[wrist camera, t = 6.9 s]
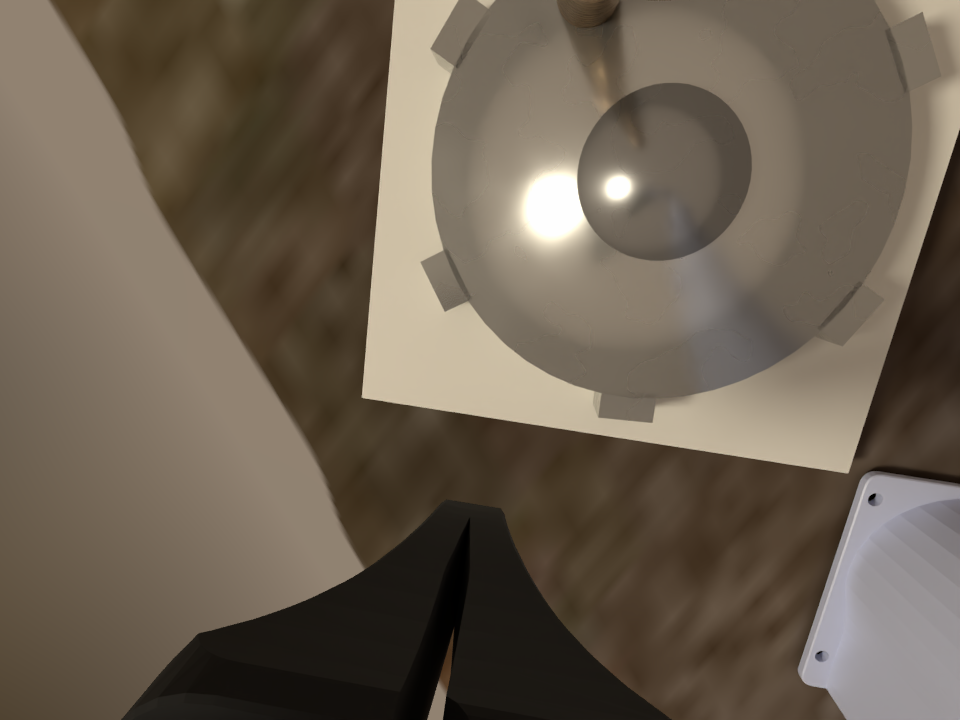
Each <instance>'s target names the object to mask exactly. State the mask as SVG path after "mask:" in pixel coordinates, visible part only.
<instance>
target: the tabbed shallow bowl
mask: <svg viewBox="0 0 960 720" xmlns="http://www.w3.org/2000/svg"><path fill="white" fill-rule="evenodd" d="M430 49H431V51H432V53H433V55H434V57H435V59H436V61H437V63H438V65H440V66H441V67H442V68H444V69H445V70H447V71H448V72H449V73H451V76H450V78H449V81H448V84H447V87H446V89H445V92H444V95H443V97H442V101H441V106H440V110H439V114H438V118H437V123H436V127H435V133H434V142H433V151H432V160H431V166H432V197H433V204H434V211H435V219H436V224H437V228H438V231H439V235H440V239H441V243H442V246H443V251H441V252H439V253H437V254H435V255H433V256H431V257H429V258H427V259H425V260H423V261H421V262H420V263H421V265H422V267H423V269H424V271H425V273H426V275H427V277H428V279H429V281H430V283H431V285H432V287H433V289H434V291H435V293H436V295H437V297H438V299H439V301H440V303H441V305H442V307H443V309H444V312H446V311H448V310H450V309H452V308H454V307H456V306H458V305H460V304H463V303H465V302H467V301H468V302H469V303H470V304H471V306H472V307H473V308H474V310H475V311H476V312H477V314H478V315H479V316H480V318H481V319H482V320H483V322H484V323H485V324H486V325H487V326H488V327H489V328H490V329H491V330H492V331H493V332H494V333H495V334H496V336H497V337H498V338H499V339H500V340H501V341H502V342H503V343H504V344H506V345H507V346H508V347H509V348H511V349H512V350H513V351H514V352H516V353H517V354H518V355H519V356H521V357H522V358H523V359H525V360H526V361H527V362H529V363H531V364H532V365H534V366H536V367H537V368H539V369H541V370H542V371H544V372H546V373H547V374H549V375H551V376H554V377H556V378H558V379H561V380H563V381H565V382H567V383H570V384H572V385H574V386H578V387H581V388H585V389H588V390H591V391H595V392H594V399H593V406H594V408H595V411H596V413H597V416H598V418H606V419H616V420H626V421H637V422H647V423H653V417H654V410H655V404H656V399H659V398H670V397H681V396H688V395H693V394H698V393H703V392H707V391H712V390H716V389H719V388H722V387H725V386H728V385H731V384H734V383H737V382H739V381H742V380H745V379H747V378H749V377H751V376H753V375H755V374H757V373H759V372H761V371H763V370H766V369H768V368H770V367H771V366H773V365H775V364H776V363H778V362H779V361H781V360H783V359H784V358H786V357H787V356H789V355H791V354H792V353H794V352H795V351H797V350H798V349H799V348H801V347H802V346H803V345H804V344H806V343H807V342H808V341H809V340H811V339H812V338H813V337H814V336H816V337H817V338H819V339H822V340H825V341H828V342H831V343H834V344H836V345H839V346H842V347H843V346H844V344H845V343H846V342H847V341H848V340H849V339H850V338H851V337H852V336H853V334H854V333H855V332H856V331H857V330H858V329H859V328H860V327H861V326H862V324H863V323H864V322H865V321H866V320H867V319H868V318H869V317H870V316H871V315H872V313H873V312H874V311H875V310H876V309H877V308H878V307H879V306H880V305H881V303H882V302H883V301H884V300H885V299H884V298H882V297H881V296H879V295H878V294H877V293H875V292H874V291H873V290H871V289H870V288H869V287H867V286H866V285H864V284H863V283H864V281H865V280H866V278H867V276H868V275H869V273H870V271H871V270H872V268H873V267H874V265H875V263H876V262H877V260H878V258H879V257H880V255H881V253H882V251H883V249H884V246H885V244H886V242H887V240H888V238H889V235H890V233H891V231H892V229H893V227H894V224H895V221H896V218H897V215H898V212H899V209H900V206H901V202H902V199H903V196H904V193H905V188H906V182H907V177H908V171H909V166H910V160H911V143H912V115H911V103H910V92H909V91H911V90H913V89H916V88H918V87H920V86H922V85H924V84H926V83H928V82H930V81H932V80H934V79H937V78H939V77H941V73H940V69H939V66H938V62H937V59H936V56H935V52H934V49H933V45H932V42H931V39H930V35H929V32H928V28H927V25H926V22H925V18H924V15H923V12H921V13H919V14H917V15H915V16H913V17H911V18H909V19H907V20H905V21H903V22H901V23H899V24H897V25H895V26H893V27H891V28H890V27H889V25H888V23H887V22H886V20H885V18H884V16H883V15H882V13H881V11H880V9H879V8H878V6H877V4H876V2H875V1H874V0H495V1H494V3H493V4H492V5H491V6H490V7H489V8H487V7H485V6H484V5H483V4H481V3H480V2H478V1H477V0H458V2H457V3H456V5H455V7H454V9H453V10H452V12H451V14H450V16H449V17H448V19H447V21H446V22H445V24H444V26H443V28H442V29H441V31H440V33H439V35H438V36H437V38H436V40H435V41H434V43H433V45H432V47H431V48H430Z"/></svg>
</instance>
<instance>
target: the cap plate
mask: <svg viewBox="0 0 960 720" xmlns="http://www.w3.org/2000/svg"><path fill="white" fill-rule="evenodd" d="M477 1H478V2H480V3H481V4H483V5H484V6H485V7H487V8H489V7H490V6H491V5H492V4H493V3H494V1H495V0H477ZM874 1H875V2H876V4H877V6H878V8H879V9H880V11H881V13H882V15H883V16H884V18H885V20H886V22H887V23H888V25H889V27H890V28H891V27H893V26H895V25H897V24H899V23H901V22H903V21H905V20H907V19H909V18H911V17H913V16H915V15H917V14H919V13H921V12H923V15H924V18H925V22H926V25H927V28H928V32H929V35H930V39H931V42H932V45H933V49H934V52H935V56H936V59H937V62H938V66H939V69H940V73H941V77H939V78H937V79H934V80H932V81H930V82H928V83H926V84H924V85H922V86H920V87H918V88H916V89H913V90H911V91H909V92H910V103H911V115H912V143H911V160H910V166H909V171H908V177H907V182H906V188H905V193H904V196H903V199H902V202H901V206H900V209H899V212H898V215H897V218H896V221H895V224H894V227H893V229H892V231H891V233H890V235H889V238H888V240H887V242H886V244H885V246H884V249H883V251H882V253H881V255H880V257H879V258H878V260H877V262H876V263H875V265H874V267H873V268H872V270H871V271H870V273H869V275H868V276H867V278H866V280H865V281H864V283H863V284H864V285H866V286H867V287H869V288H870V289H871V290H873V291H874V292H875V293H877V294H878V295H879V296H881V297H882V298H884V299H885V300H884V301H883V302H882V303H881V305H880V306H879V307H878V308H877V309H876V310H875V311H874V312H873V313H872V315H871V316H870V317H869V318H868V319H867V320H866V321H865V322H864V323H863V324H862V326H861V327H860V328H859V329H858V330H857V331H856V332H855V333H854V334H853V336H852V337H851V338H850V339H849V340H848V341H847V342H846V343H845V344H844V346H843V347H842V346H839V345H836V344H834V343H831V342H828V341H825V340H822V339H819V338H817V337H816V336H814V337H813V338H812V339H811V340H809V341H808V342H807V343H806V344H804V345H803V346H802V347H801V348H799V349H798V350H797V351H795V352H794V353H792V354H791V355H789V356H787V357H786V358H784V359H783V360H781V361H779V362H778V363H776V364H775V365H773V366H771V367H770V368H768V369H766V370H763V371H761V372H759V373H757V374H755V375H753V376H751V377H749V378H747V379H745V380H742V381H739V382H737V383H734V384H731V385H728V386H725V387H722V388H719V389H716V390H712V391H707V392H703V393H698V394H693V395H688V396H681V397H670V398H659V399H656V404H655V410H654V417H653V423H647V422H637V421H626V420H616V419H606V418H598V416H597V413H596V411H595V408H594V406H593V399H594V392H595V391H591V390H588V389H585V388H581V387H578V386H574V385H572V384H570V383H567V382H565V381H563V380H561V379H558V378H556V377H554V376H551V375H549V374H547V373H546V372H544V371H542V370H541V369H539V368H537V367H536V366H534V365H532V364H531V363H529V362H527V361H526V360H525V359H523V358H522V357H521V356H519V355H518V354H517V353H516V352H514V351H513V350H512V349H511V348H509V347H508V346H507V345H506V344H504V343H503V342H502V341H501V340H500V339H499V338H498V337H497V336H496V334H495V333H494V332H493V331H492V330H491V329H490V328H489V327H488V326H487V325H486V324H485V323H484V322H483V320H482V319H481V318H480V316H479V315H478V314H477V312H476V311H475V310H474V308H473V307H472V306H471V304H470V303H469V302H468V301H467V302H465V303H463V304H460V305H458V306H456V307H454V308H452V309H450V310H448V311H446V312H444V309H443V307H442V305H441V303H440V301H439V299H438V297H437V295H436V293H435V291H434V289H433V287H432V285H431V283H430V281H429V279H428V277H427V275H426V273H425V271H424V269H423V267H422V265H421V263H420V262H421V261H423V260H425V259H427V258H429V257H431V256H433V255H435V254H437V253H439V252H441V251H443V246H442V243H441V239H440V235H439V231H438V228H437V224H436V219H435V211H434V204H433V197H432V166H431V160H432V151H433V142H434V133H435V127H436V123H437V118H438V114H439V110H440V106H441V101H442V97H443V95H444V92H445V89H446V87H447V84H448V81H449V78H450V76H451V73H449V72H448V71H447V70H445V69H444V68H442V67H441V66H440V65H438V63H437V61H436V59H435V57H434V55H433V53H432V51H431V49H430V48H431V47H432V45H433V43H434V41H435V40H436V38H437V36H438V35H439V33H440V31H441V29H442V28H443V26H444V24H445V22H446V21H447V19H448V17H449V16H450V14H451V12H452V10H453V9H454V7H455V5H456V3H457V2H458V0H395V6H394V18H393V30H392V42H391V54H390V66H389V78H388V90H387V102H386V114H385V126H384V138H383V150H382V163H381V175H380V187H379V199H378V211H377V223H376V235H375V247H374V259H373V271H372V283H371V295H370V307H369V319H368V331H367V343H366V355H365V367H364V379H363V391H362V398H367V399H373V400H380V401H386V402H392V403H399V404H405V405H412V406H418V407H425V408H431V409H437V410H444V411H450V412H457V413H463V414H470V415H476V416H482V417H489V418H495V419H502V420H508V421H515V422H521V423H527V424H534V425H540V426H547V427H553V428H560V429H566V430H572V431H579V432H585V433H592V434H598V435H604V436H611V437H617V438H624V439H630V440H637V441H643V442H649V443H656V444H662V445H669V446H675V447H682V448H688V449H694V450H701V451H707V452H714V453H720V454H727V455H733V456H739V457H746V458H752V459H759V460H765V461H772V462H778V463H784V464H791V465H797V466H804V467H810V468H816V469H823V470H829V471H836V472H842V473H849V470H850V466H851V463H852V460H853V457H854V454H855V451H856V448H857V445H858V442H859V439H860V436H861V432H862V429H863V426H864V423H865V420H866V417H867V414H868V411H869V408H870V405H871V402H872V398H873V395H874V392H875V389H876V386H877V383H878V380H879V377H880V374H881V371H882V368H883V364H884V361H885V358H886V355H887V352H888V349H889V346H890V343H891V340H892V337H893V334H894V330H895V327H896V324H897V321H898V318H899V315H900V312H901V309H902V306H903V303H904V300H905V296H906V293H907V290H908V287H909V284H910V281H911V278H912V275H913V272H914V269H915V266H916V262H917V259H918V256H919V253H920V250H921V247H922V244H923V241H924V238H925V235H926V232H927V228H928V225H929V222H930V219H931V216H932V213H933V210H934V207H935V204H936V201H937V198H938V194H939V191H940V188H941V185H942V182H943V179H944V176H945V173H946V170H947V167H948V164H949V160H950V157H951V154H952V151H953V148H954V145H955V142H956V139H957V136H958V133H959V130H960V0H874Z"/></svg>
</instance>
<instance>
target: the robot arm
mask: <svg viewBox="0 0 960 720" xmlns="http://www.w3.org/2000/svg"><path fill="white" fill-rule="evenodd" d="M874 493H876V497H875V498H874V499H873V500H871V501H868V498H869V496H870V495H872V494H874ZM453 629H454V638H453V651H452V665H451V676H450V681H449V686H448V691H447V695H446V703H445V709H444V716H443V720H671V719H670V718H669V717H667V716H666V715H665V714H663V713H662V712H661V711H659V710H658V709H657V708H655V707H654V706H652V705H651V704H650V703H648V702H647V701H646V700H644V699H643V698H642V697H640V696H639V695H638V694H636V693H635V692H634V691H632V690H631V689H630V688H628V687H627V686H626V685H625V684H623V683H622V682H621V681H620V680H619V679H618V678H616V677H615V676H614V675H613V674H612V673H611V672H610V671H609V670H607V669H606V668H605V667H604V666H603V665H602V664H601V663H599V662H598V661H597V660H596V659H595V658H594V657H593V656H592V655H591V654H590V653H589V652H588V651H587V650H586V649H585V648H584V647H583V646H582V645H581V644H580V642H579V641H578V640H577V639H576V638H575V637H574V636H573V635H572V634H571V633H570V632H569V631H568V629H567V628H566V627H565V626H564V625H563V624H562V622H561V621H560V620H559V619H558V617H557V616H556V615H555V613H554V612H553V611H552V609H551V608H550V607H549V605H548V604H547V602H546V601H545V599H544V598H543V596H542V595H541V593H540V592H539V590H538V588H537V587H536V585H535V583H534V582H533V580H532V578H531V577H530V575H529V573H528V571H527V569H526V567H525V565H524V563H523V561H522V559H521V557H520V555H519V553H518V551H517V549H516V547H515V544H514V542H513V540H512V537H511V535H510V532H509V529H508V526H507V523H506V519H505V514H504V513H503V511H502V510H501V509H500V508H495V507H489V506H483V505H477V504H470V503H464V502H458V501H452V500H445V501H444V502H442V503H441V504H440V505H439V506H438V507H437V509H436V510H435V511H434V512H433V513H432V514H431V515H430V516H429V517H428V518H427V519H426V520H425V521H424V522H423V523H422V524H421V525H420V526H419V527H418V528H417V529H416V530H415V531H414V532H412V533H411V534H410V535H409V536H408V537H407V538H406V539H405V540H404V541H402V542H401V543H400V544H399V545H398V546H396V547H395V548H394V549H392V550H391V551H390V552H389V553H387V554H386V555H385V556H383V557H382V558H381V559H380V560H378V561H377V562H375V563H374V564H373V565H371V566H370V567H368V568H367V569H365V570H364V571H362V572H361V573H359V574H357V575H356V576H354V577H353V578H351V579H349V580H347V581H345V582H343V583H341V584H339V585H337V586H335V587H333V588H331V589H329V590H327V591H325V592H323V593H321V594H319V595H317V596H315V597H313V598H310V599H308V600H306V601H303V602H301V603H298V604H296V605H293V606H291V607H288V608H285V609H282V610H280V611H277V612H274V613H271V614H268V615H265V616H262V617H259V618H256V619H253V620H249V621H245V622H242V623H238V624H234V625H230V626H227V627H223V628H219V629H216V630H212V631H207V632H203V633H199V634H197V635H196V636H195V638H194V639H193V640H192V641H191V642H190V643H189V644H188V645H187V646H186V647H185V648H184V649H183V650H182V651H181V652H180V653H179V654H178V655H177V656H176V657H175V658H174V659H173V660H172V661H171V662H170V663H169V664H168V665H167V666H166V668H165V669H164V670H163V671H162V672H161V673H160V674H159V675H158V677H157V678H156V679H155V680H154V681H153V683H152V684H151V685H150V686H149V687H148V689H147V690H146V691H145V692H144V693H143V695H142V696H141V697H140V698H139V699H138V700H137V702H136V703H135V704H134V705H133V706H132V708H131V709H130V710H129V711H128V712H127V714H126V715H125V716H124V717H123V718H122V720H427V718H428V715H429V711H430V708H431V705H432V701H433V698H434V694H435V691H436V687H437V684H438V681H439V677H440V674H441V670H442V667H443V664H444V660H445V657H446V653H447V650H448V646H449V643H450V639H451V636H452V632H453ZM819 651H823V652H822V653H820V654H816V653H817V652H819ZM798 673H799V675H800V677H801V679H802V680H803V682H804V683H806V684H807V685H810V686H815V687H820V688H826V689H827V690H828V692H829V693H830V695H831V696H832V698H833V699H834V701H835V702H836V704H837V706H838V707H839V709H840V710H841V712H842V713H843V715H844V716H845V718H846V719H847V720H960V484H957V483H951V482H945V481H938V480H932V479H925V478H919V477H912V476H906V475H899V474H893V473H886V472H880V471H871V472H869V473H866V474H865V475H864V476H863V477H862V478H861V480H860V483H859V486H858V489H857V492H856V495H855V498H854V501H853V504H852V507H851V510H850V513H849V516H848V519H847V522H846V525H845V528H844V531H843V534H842V537H841V540H840V543H839V546H838V549H837V552H836V555H835V558H834V561H833V564H832V567H831V570H830V573H829V576H828V579H827V582H826V585H825V588H824V591H823V594H822V598H821V601H820V604H819V607H818V610H817V613H816V616H815V619H814V622H813V625H812V628H811V631H810V634H809V637H808V640H807V643H806V646H805V649H804V652H803V655H802V658H801V661H800V664H799V667H798Z"/></svg>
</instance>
